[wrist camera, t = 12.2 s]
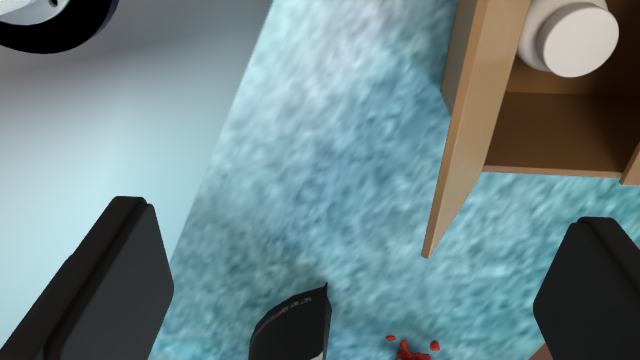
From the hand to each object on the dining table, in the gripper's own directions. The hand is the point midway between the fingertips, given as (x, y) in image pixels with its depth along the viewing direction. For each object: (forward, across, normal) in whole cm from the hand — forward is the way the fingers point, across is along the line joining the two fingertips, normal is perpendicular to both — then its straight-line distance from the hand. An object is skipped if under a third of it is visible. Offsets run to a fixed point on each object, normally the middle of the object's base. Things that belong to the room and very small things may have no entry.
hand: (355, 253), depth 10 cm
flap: (+11, -6, 0) cm, 13 cm away
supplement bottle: (+28, -13, 0) cm, 31 cm away
